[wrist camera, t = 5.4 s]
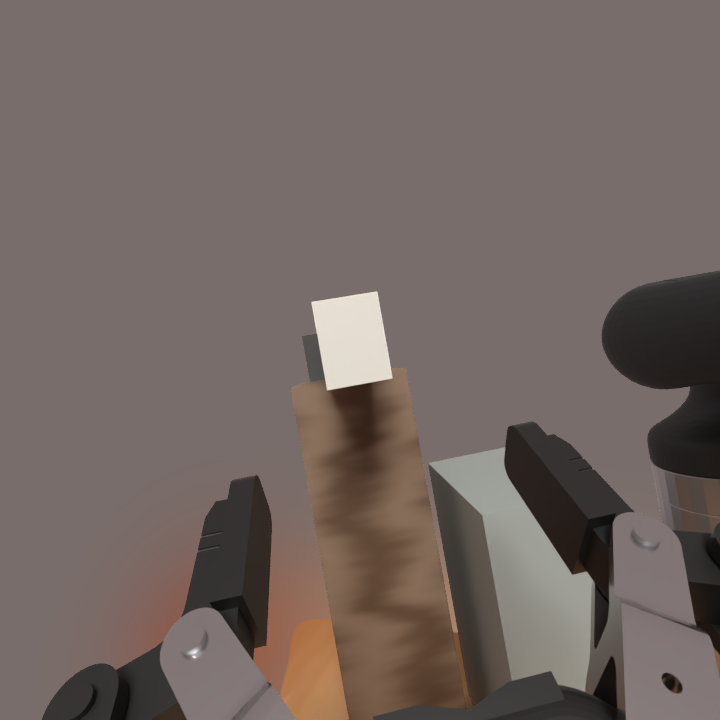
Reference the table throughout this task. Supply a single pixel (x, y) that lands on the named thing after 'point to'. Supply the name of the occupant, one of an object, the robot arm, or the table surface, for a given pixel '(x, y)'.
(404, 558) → the brown tall block
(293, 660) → the table surface
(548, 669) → the pale green block
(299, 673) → the table surface
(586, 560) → the robot arm
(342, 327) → the bar
